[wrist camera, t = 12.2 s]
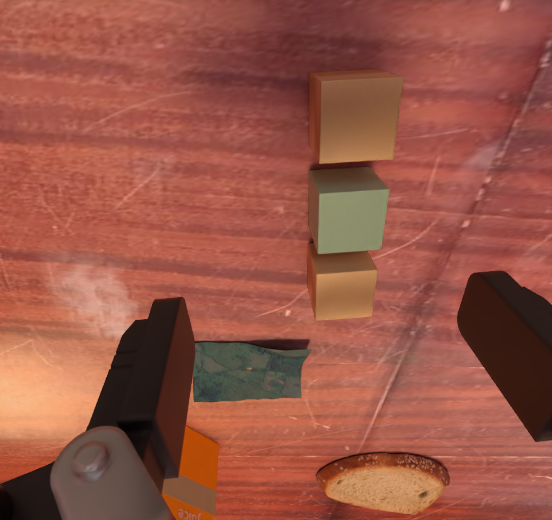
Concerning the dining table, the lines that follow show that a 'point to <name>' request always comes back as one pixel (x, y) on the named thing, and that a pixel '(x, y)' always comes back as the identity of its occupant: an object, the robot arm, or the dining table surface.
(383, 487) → the bread slice
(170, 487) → the orange juice
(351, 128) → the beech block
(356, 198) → the sage block
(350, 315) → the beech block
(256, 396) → the terrain model
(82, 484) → the robot arm
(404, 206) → the dining table surface
